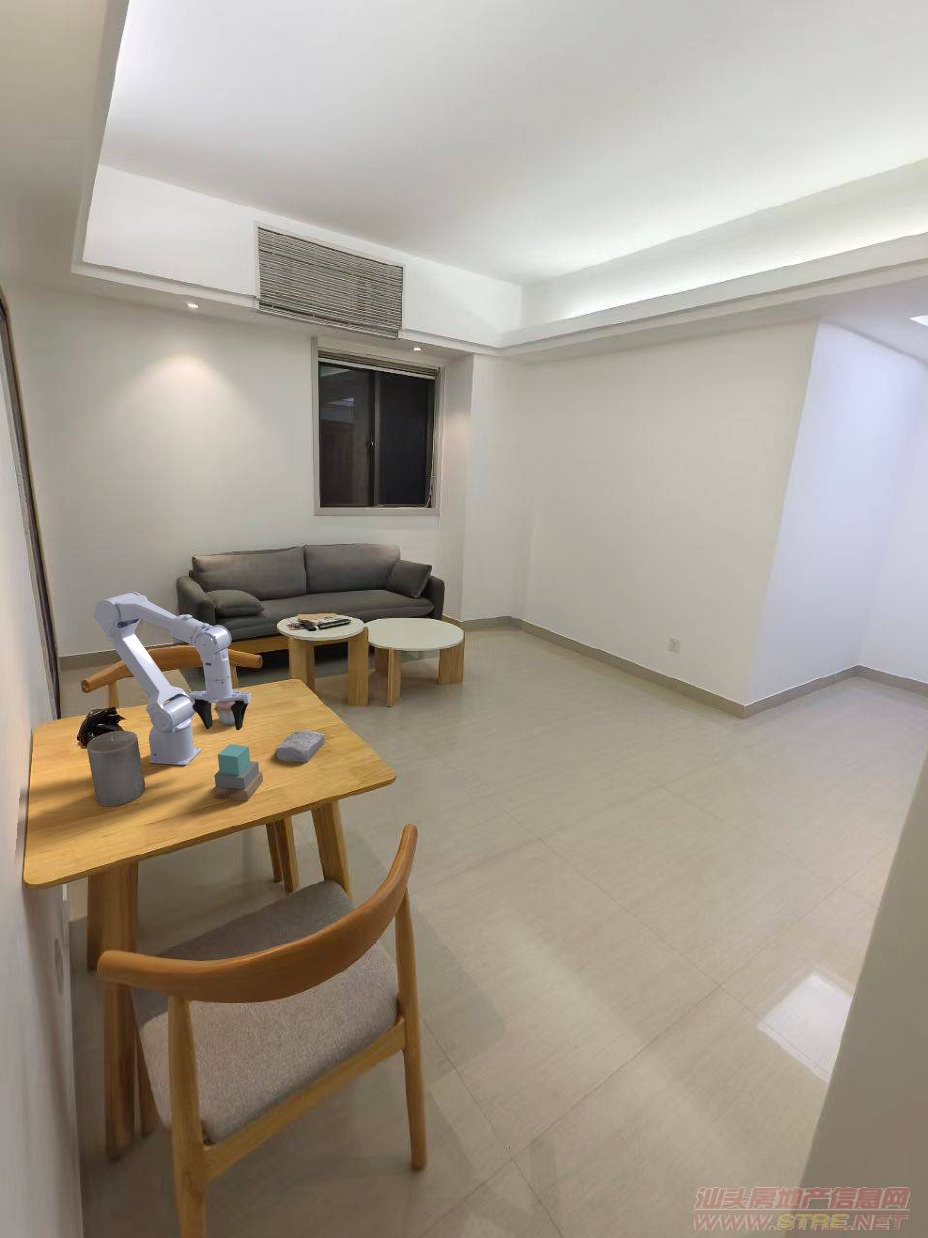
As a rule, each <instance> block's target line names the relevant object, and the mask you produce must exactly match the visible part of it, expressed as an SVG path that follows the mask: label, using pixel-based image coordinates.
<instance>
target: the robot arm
mask: <svg viewBox="0 0 928 1238" xmlns="http://www.w3.org/2000/svg"><path fill="white" fill-rule="evenodd" d="M93 618H94V619H95V621H96V622H97V623H98V625H99V627H101V629H102V631H103V632H104V633H105V636H106V638H107V640H108V641H109V643H110V645H111V646H112V647H113V649H114V650H115V652H116V653H117V654H118V656H119V657H120V658H121V660H122V662H123V663H124V664H125V666H126V667H127V668H128V670H129V671H130V673H131V674H132V676H134V677H133V678H135V680H136V681H137V682H138V684H139V685H140V686H141V688H142V690H144V692H145V694H146V695H147V697H148V698H149V699H148V702H147V704H146V708H145V711H146V712H147V715H149V720H150V723H151V725H152V727H151V729H150V731H149V734H148V743H149V749H150V751H149V752H150V760H149V763H150V764H161V765H174V766H176V765H177V766H186V765H188V764H189V763H190V762H191V761H192V760H193V759H194V758H196V756H197V755H198V754H199V753H200V752H201V751H202V748H201V747H195V746H194V737H193V727H192V726H193V725H192V721H194V720H193V716H194V715H195V714H196V715H198V716H199V717H200V719H201V721H202V723H203V727H204V728H205V730H210V729H211V728H212V727H213V725H214V721H213V715H212V713H213V712H212V704H216V703H217V702H219V701H224V702H235V704H233V705H232V706H231V710H232V712H233V715H234V720H235V725H234V727H235V730H236V731H240V730H241V729H242V728H243V726H244V725H243V723H244V720H243V719H245V716H244V714H246V710H247V708H248V705H249V703H250V702H251V701H252V693H251V692H244V691H240V690H235V689H233V682H232V677H231V676H232V674H231V666H230V659H229V651H228V647H229V646H230V645H231V644H232V641H233V640H232V638H233V637H232V635H231V632H230V631H229V630H228V628H226V627H225V626H223V625H221V624H216V625H210V624H209V623H207V622H203V621H199V620H197V619H195V618H194V617H193V615H191V614H181V615H175V614H173V613H172V612H170V611H168V610H166V609H164V608H162V607H160V606H158V605H156V604H154V603H152V602H151V601H149V600H148V598H147V596H146V595H144V594H140V593H139V592H136V591H128V592H126V593H124V594H120V595H117V596H114V597H110V598H105V599H104V598H103V599H101V600H98V602H97V601H96V603H95V607H94V613H93ZM141 620H144V621H147V622H149V623H151V624H154V625H157V626H160V627H162V628H165V629H167V630H169V633H170V635H171V636H172V637H173V638H176V639H178V640H181V641H183V642H185V643H187V644H190V645H192V646H194V648H195V650H196V651H197V653H198V654H199V656H200V661H201V662H202V668H203V673H204V674H203V675H204V682H205V689H206V690H201V691H198V690H197V691H195V690H194V691H192V692H191V693H189V695H188V694H187V693H186V692H185V691H184V689H183V688H182V687H177V686H174V685H171V684H170V683H169V681H168V679H167V678H166V677H165V675H164V674H163V672H162V671H161V669H160V668H159V667H158V665H157V664H156V662H155V661H154V660H153V658H152V657H151V655H150V654H149V652H148V651H147V650H146V648H145V647H144V646H143V644H142V643H141V641H140V640H139V638H138V636H137V635H136V634H135V632H136V629H137V627H138V625H139V623H140V622H141Z"/></svg>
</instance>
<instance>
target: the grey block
mask: <svg viewBox="0 0 928 1238" xmlns="http://www.w3.org/2000/svg"><path fill="white" fill-rule="evenodd" d="M259 772H260V769H259V761H253V760H250V765H249V766H248V767H247V768H246V769H245V770H244V771H243V772H242V773H241V774H240V775H239V776H238V775H230V774H222V773H220V772H219V770H218V771H217V772H216V773H215V774H214V775H213V776H214V782H215V783H214V784H215V786H216V787H224V788H234V789H244V790H245V789H246V788H247V786H248V785H249V784H250V783H251V782H252V781H253V779H254V778H255V777H256V776H257V775H258V773H259ZM215 786H214V787H215Z"/></svg>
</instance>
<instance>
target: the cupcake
mask: <svg viewBox="0 0 928 1238" xmlns="http://www.w3.org/2000/svg"><path fill="white" fill-rule="evenodd" d="M233 704H235V702H224V701H219V702H217V703H215V705H214V708H213V710H214V711H215V713H216V714H217V717H218V719H219V721H220V723H221V724H222V725H223V726H235V720H234V715H233V712H232V710H231V706H232V705H233ZM245 714H246V713H245ZM245 714H244V717H245ZM244 719H245V718H244ZM244 719H243V721H244Z"/></svg>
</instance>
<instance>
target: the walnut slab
mask: <svg viewBox="0 0 928 1238" xmlns="http://www.w3.org/2000/svg"><path fill="white" fill-rule="evenodd" d="M263 782H264V777H263V772H262V771H259V773H258V775H257V776H256V777H255V778H254V779H253V781H252V782H251V783H250V784H249V785H248V786H247V788H246V789H245V790H244V789H234V788H224V787H216V786H214V787H213V788H212V790H213V798H214V799H220V800H222V799H223V800H233V801H243V802H244V801H245V802H248V801H250V799H251V798H252V797H253V795H255V793H256V791H258V789H259V788H260V786H261V785H262V783H263Z"/></svg>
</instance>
